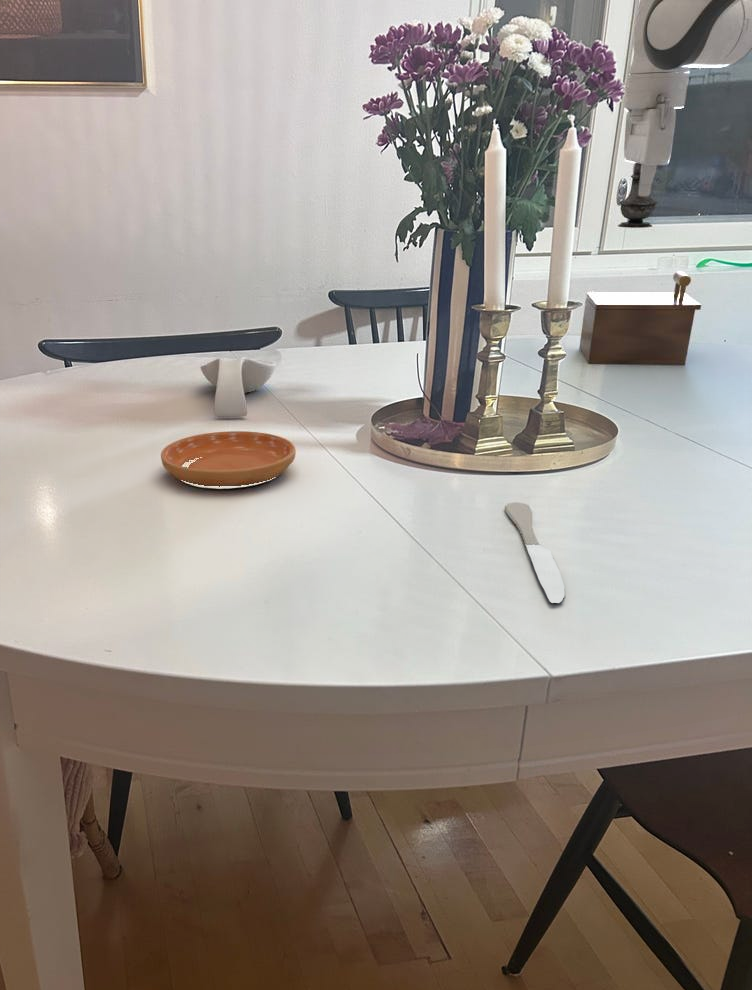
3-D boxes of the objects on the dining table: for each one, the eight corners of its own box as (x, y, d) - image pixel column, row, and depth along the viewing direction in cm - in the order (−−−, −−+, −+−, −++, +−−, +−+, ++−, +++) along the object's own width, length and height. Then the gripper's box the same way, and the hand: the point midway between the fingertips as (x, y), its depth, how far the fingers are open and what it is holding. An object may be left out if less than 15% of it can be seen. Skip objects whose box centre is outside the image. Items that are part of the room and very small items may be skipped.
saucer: (134, 479, 111) (132, 454, 109) (221, 445, 122) (220, 423, 120) (239, 505, 102) (238, 479, 101) (322, 467, 113) (322, 443, 112)
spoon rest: (204, 381, 154) (202, 336, 150) (276, 379, 153) (275, 334, 150) (191, 420, 133) (188, 369, 129) (274, 418, 133) (273, 367, 129)
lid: (683, 297, 163) (689, 268, 160) (700, 309, 152) (706, 278, 150) (585, 297, 165) (589, 268, 163) (595, 309, 154) (600, 278, 152)
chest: (669, 349, 167) (678, 297, 163) (685, 364, 156) (695, 309, 152) (579, 348, 169) (585, 297, 165) (588, 363, 159) (595, 309, 154)
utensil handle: (531, 502, 99) (503, 502, 100) (574, 602, 79) (538, 601, 79) (531, 506, 100) (503, 505, 100) (573, 606, 79) (538, 605, 79)
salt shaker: (614, 227, 151) (626, 144, 146) (617, 224, 156) (628, 143, 150) (653, 228, 150) (666, 143, 144) (654, 224, 154) (667, 142, 149)
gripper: (692, 93, 135) (674, 199, 141) (663, 97, 152) (649, 191, 159) (646, 94, 136) (630, 199, 142) (623, 98, 153) (610, 191, 160)
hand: (640, 195), depth 151 cm, fingers closed on salt shaker, 3 cm apart
